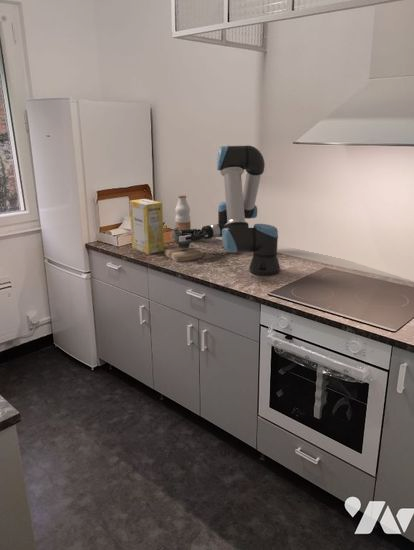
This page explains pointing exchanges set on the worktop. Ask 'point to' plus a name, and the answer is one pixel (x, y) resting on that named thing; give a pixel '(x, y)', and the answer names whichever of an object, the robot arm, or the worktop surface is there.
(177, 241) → the mortar and pestle
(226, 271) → the worktop surface
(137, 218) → the pasta box
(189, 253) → the block
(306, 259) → the worktop surface
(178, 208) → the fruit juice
